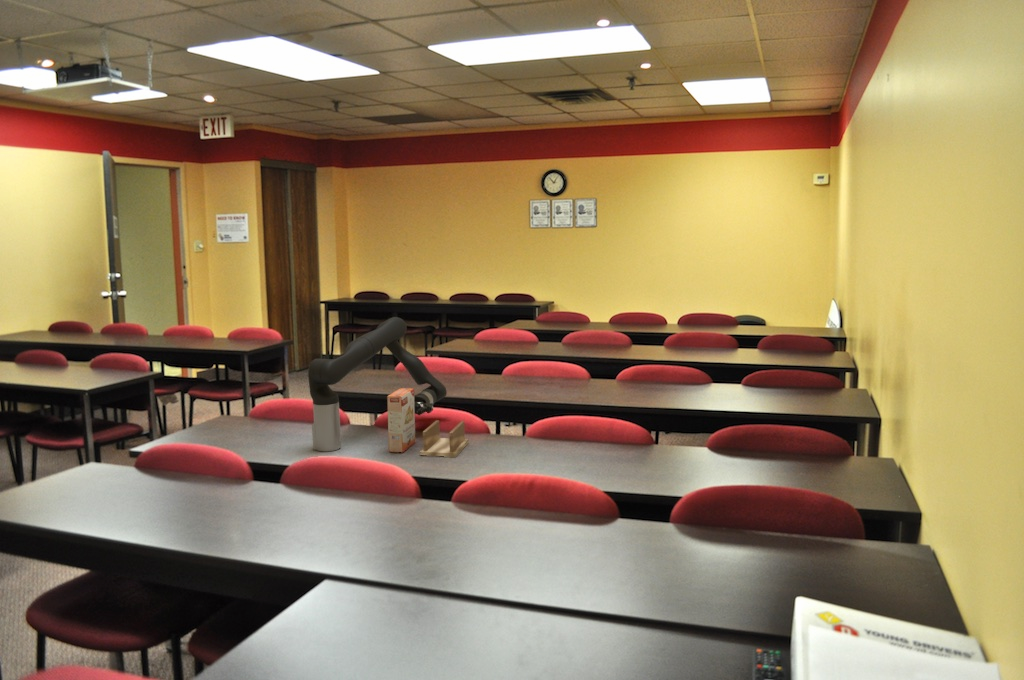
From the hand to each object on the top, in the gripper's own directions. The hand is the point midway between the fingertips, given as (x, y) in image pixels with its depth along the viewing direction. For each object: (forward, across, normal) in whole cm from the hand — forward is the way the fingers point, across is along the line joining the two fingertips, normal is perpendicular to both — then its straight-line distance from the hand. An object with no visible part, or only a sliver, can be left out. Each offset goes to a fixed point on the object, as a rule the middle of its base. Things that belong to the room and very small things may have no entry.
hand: (407, 412), depth 288 cm
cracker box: (+7, 0, +12) cm, 14 cm away
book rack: (+7, +16, +12) cm, 21 cm away
